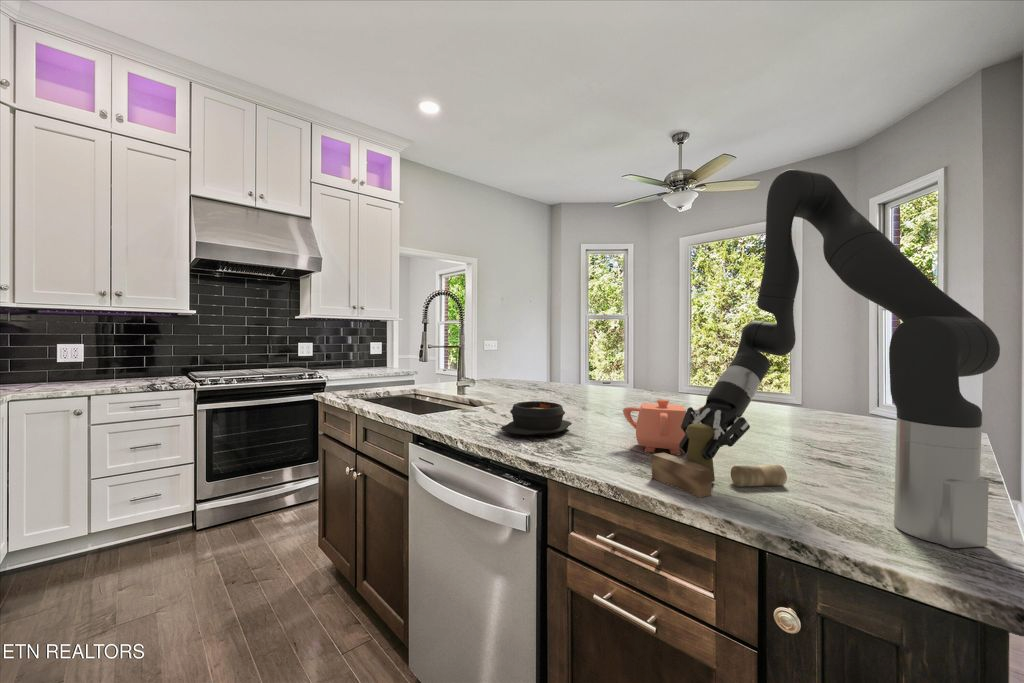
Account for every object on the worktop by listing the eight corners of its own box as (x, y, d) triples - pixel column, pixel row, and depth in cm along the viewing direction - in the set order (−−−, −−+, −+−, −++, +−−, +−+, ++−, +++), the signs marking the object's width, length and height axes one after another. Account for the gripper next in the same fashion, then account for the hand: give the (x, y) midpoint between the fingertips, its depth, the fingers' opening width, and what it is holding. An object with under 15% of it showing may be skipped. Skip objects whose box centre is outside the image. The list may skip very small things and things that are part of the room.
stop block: (712, 494, 81) (713, 468, 81) (700, 497, 79) (701, 470, 79) (663, 475, 91) (663, 452, 91) (651, 478, 90) (652, 454, 90)
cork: (718, 484, 84) (720, 428, 84) (686, 481, 86) (687, 426, 85) (710, 473, 90) (712, 422, 90) (680, 471, 92) (681, 420, 91)
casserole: (540, 421, 147) (541, 397, 147) (585, 430, 134) (586, 404, 134) (486, 433, 129) (487, 405, 129) (532, 444, 116) (533, 413, 116)
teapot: (619, 446, 116) (620, 397, 116) (659, 439, 124) (660, 394, 124) (670, 462, 102) (671, 407, 101) (711, 453, 110) (712, 402, 109)
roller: (783, 463, 86) (789, 483, 85) (769, 466, 90) (775, 486, 88) (740, 464, 85) (745, 485, 83) (728, 467, 89) (733, 487, 87)
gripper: (696, 376, 97) (657, 434, 92) (758, 383, 85) (716, 451, 79) (712, 398, 100) (674, 456, 94) (773, 408, 87) (734, 475, 82)
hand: (693, 453), depth 87 cm, fingers closed on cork, 5 cm apart
